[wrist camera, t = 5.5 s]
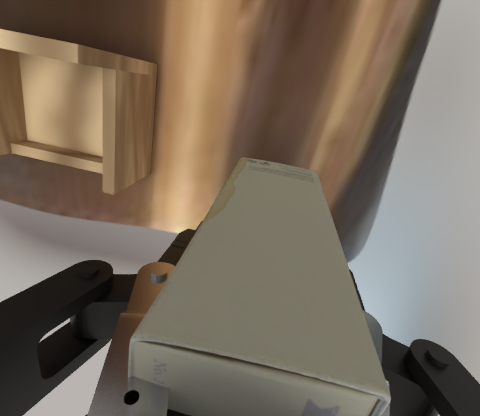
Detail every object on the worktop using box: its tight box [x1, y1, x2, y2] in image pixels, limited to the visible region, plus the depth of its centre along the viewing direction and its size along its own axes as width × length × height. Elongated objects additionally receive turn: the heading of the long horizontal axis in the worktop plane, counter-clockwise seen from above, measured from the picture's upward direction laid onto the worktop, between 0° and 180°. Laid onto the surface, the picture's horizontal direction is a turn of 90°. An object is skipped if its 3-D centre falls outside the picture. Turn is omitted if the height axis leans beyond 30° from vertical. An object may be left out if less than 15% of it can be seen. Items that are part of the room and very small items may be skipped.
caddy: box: [0, 29, 158, 195], centre depth 24 cm, size 14×10×11 cm
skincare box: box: [128, 157, 391, 416], centre depth 11 cm, size 6×4×12 cm
